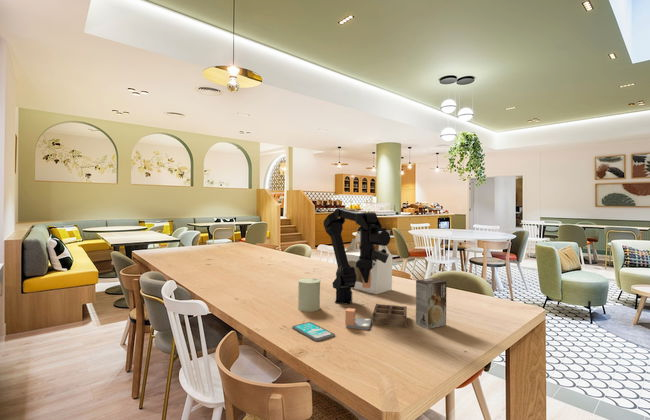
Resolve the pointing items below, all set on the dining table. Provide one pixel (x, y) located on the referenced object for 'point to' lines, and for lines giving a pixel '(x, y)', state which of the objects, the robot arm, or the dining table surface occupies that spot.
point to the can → (309, 294)
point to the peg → (368, 285)
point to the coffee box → (430, 303)
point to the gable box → (379, 273)
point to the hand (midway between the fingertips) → (366, 281)
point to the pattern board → (356, 320)
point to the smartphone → (313, 331)
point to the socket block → (390, 315)
